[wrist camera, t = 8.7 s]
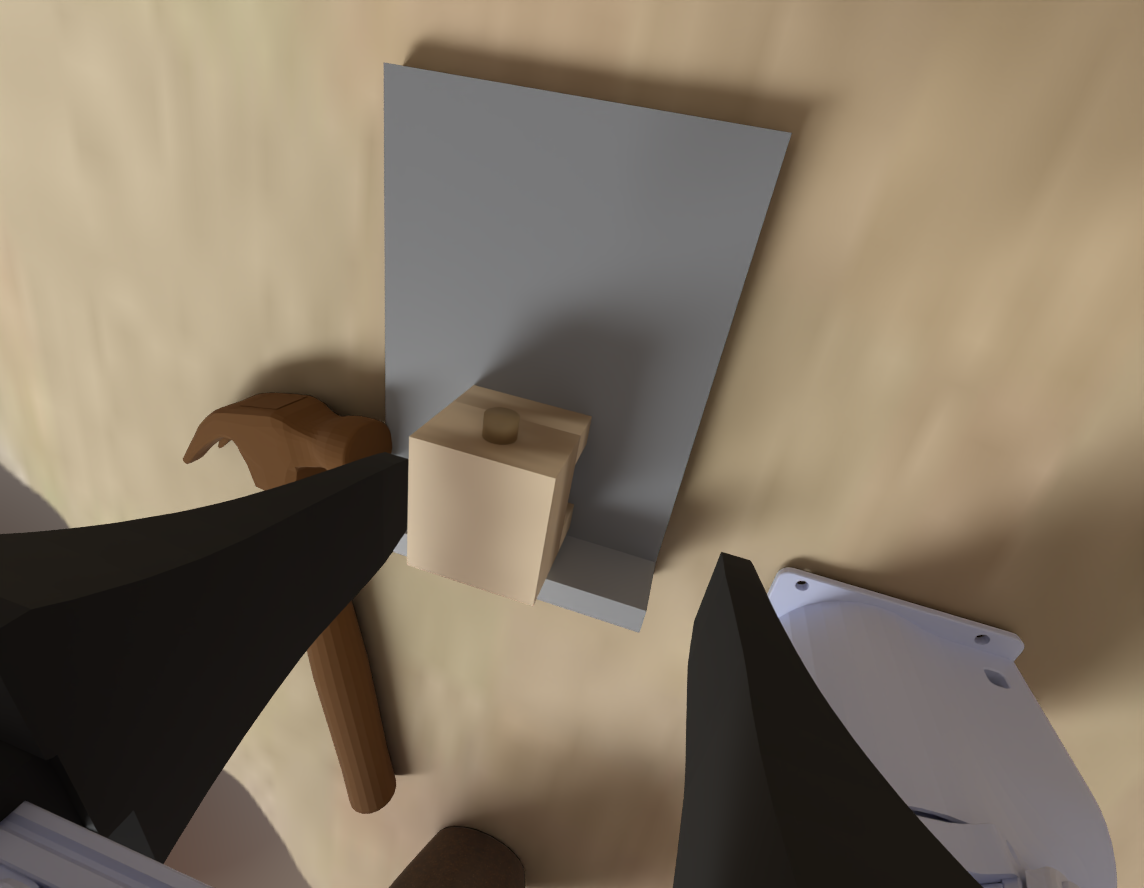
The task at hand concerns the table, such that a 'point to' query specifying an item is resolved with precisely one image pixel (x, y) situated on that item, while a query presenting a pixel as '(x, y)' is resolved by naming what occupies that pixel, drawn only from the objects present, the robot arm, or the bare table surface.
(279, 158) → the table surface
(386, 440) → the hammer
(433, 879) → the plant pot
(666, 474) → the wall board
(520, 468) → the cabinet block
